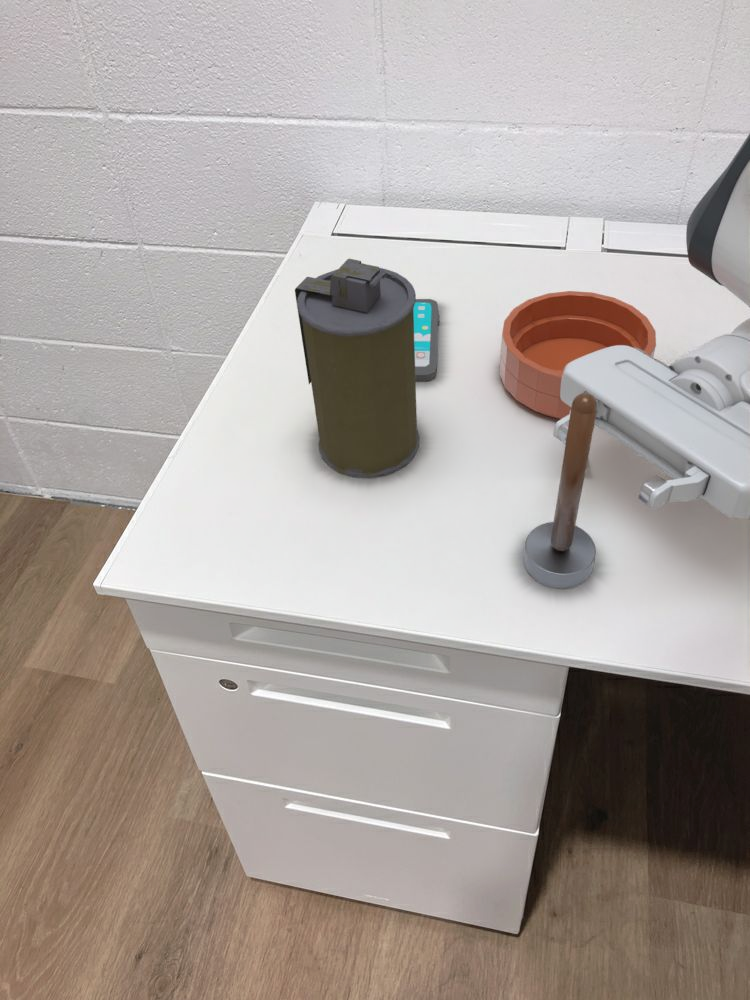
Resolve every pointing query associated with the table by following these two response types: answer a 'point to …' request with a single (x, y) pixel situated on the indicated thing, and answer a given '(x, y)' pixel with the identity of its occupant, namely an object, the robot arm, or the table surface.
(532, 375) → the bowl
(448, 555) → the table surface
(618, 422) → the robot arm
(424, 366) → the smartphone
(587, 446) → the peg on round base
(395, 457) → the canister
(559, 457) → the table surface
